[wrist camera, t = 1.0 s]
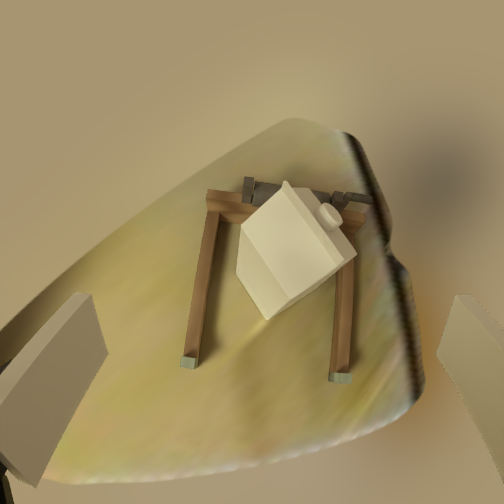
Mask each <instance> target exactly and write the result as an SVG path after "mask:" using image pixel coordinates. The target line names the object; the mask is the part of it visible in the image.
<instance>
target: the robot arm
mask: <svg viewBox="0 0 504 504" xmlns="http://www.w3.org/2000/svg"><path fill="white" fill-rule="evenodd" d="M107 355H108V351H107V348H106V344H105V341H104V338H103V335H102V331H101V328H100V325H99V321H98V318H97V314H96V310H95V307H94V303H93V299H92V295H91V294H88V293H74V294H73V295H72V296H71V297H70V298H69V299H68V300H67V301H66V302H65V303H64V304H63V305H62V306H61V307H60V308H59V309H58V310H57V311H56V312H55V313H54V314H53V315H52V316H51V318H50V319H49V320H48V321H47V322H46V323H45V324H44V325H43V326H42V327H41V328H40V329H39V331H38V332H37V333H36V334H35V335H34V336H33V337H32V338H31V339H30V341H29V342H28V343H27V344H26V345H25V346H24V347H23V349H22V350H21V351H20V352H19V353H18V354H17V356H16V357H15V358H14V359H13V360H10V361H9V362H7V363H6V364H4V365H3V366H1V367H0V504H14V502H13V497H12V494H11V489H10V484H9V481H8V478H7V476H5V472H6V470H7V469H8V470H9V471H10V472H11V473H12V474H13V475H14V476H15V477H16V478H17V479H18V480H20V481H22V482H24V483H26V484H28V485H30V486H32V487H34V488H36V487H37V485H38V483H39V481H40V479H41V477H42V475H43V473H44V471H45V469H46V467H47V464H48V462H49V460H50V458H51V456H52V455H53V453H54V451H55V449H56V447H57V445H58V443H59V441H60V439H61V437H62V435H63V433H64V431H65V429H66V428H67V426H68V424H69V422H70V420H71V418H72V416H73V415H74V413H75V411H76V409H77V407H78V406H79V404H80V402H81V400H82V398H83V397H84V395H85V393H86V391H87V390H88V388H89V386H90V384H91V383H92V381H93V379H94V377H95V376H96V374H97V372H98V371H99V369H100V367H101V365H102V364H103V362H104V360H105V359H106V357H107ZM436 356H437V357H438V359H439V360H440V362H441V364H442V366H443V367H444V369H445V371H446V372H447V374H448V376H449V377H450V379H451V381H452V383H453V384H454V386H455V388H456V389H457V391H458V393H459V395H460V397H461V398H462V400H463V402H464V403H465V406H466V407H467V409H468V411H469V413H470V415H471V417H472V418H473V420H474V422H475V424H476V426H477V428H478V430H479V432H480V434H481V436H482V438H483V440H484V442H485V444H486V446H487V448H488V450H489V452H490V454H491V456H492V458H493V461H494V462H495V465H496V467H497V469H498V471H499V474H500V476H501V478H502V480H503V483H504V329H503V328H502V327H501V326H500V325H499V324H498V322H497V321H496V320H495V319H494V318H493V317H492V316H491V315H490V314H489V313H488V312H487V311H486V310H485V309H484V308H483V307H482V306H481V305H480V304H479V303H478V302H477V301H476V300H475V299H474V298H473V296H472V295H471V294H465V295H455V298H454V301H453V304H452V308H451V311H450V314H449V317H448V320H447V323H446V326H445V329H444V332H443V335H442V338H441V341H440V344H439V346H438V349H437V352H436Z"/></svg>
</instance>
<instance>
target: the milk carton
mask: <svg viewBox="0 0 504 504" xmlns="http://www.w3.org/2000/svg"><path fill="white" fill-rule="evenodd" d="M342 223H343V221H342V218H341V216H340V214H339V213H338V211H337V210H336V209H335V208H334V207H333V206H332V205H330V204H329V203H323V204H321V203H320V202H319V200H318V199H317V198H316V196H315V195H314V194H313V193H312V191H311V190H310V189H309V188H298V187H291V186H290V185H289V184H288V182H287V181H283V184H282V187H281V189H280V190H279V191H278V192H276V193H275V194H274V195H273V196H272V197H271V198H270V199H269V200H268V201H267V202H265V203H264V204H263V205H262V206H261V207H260V208H259V209H258V210H257V211H256V212H254V213H253V214H252V215H251V216H250V217H249V218H248V219H247V220H246V221H245V222H244V223H242V224H241V231H240V240H239V249H238V258H237V267H236V274H237V276H238V278H239V279H240V281H241V282H242V284H243V286H244V287H245V289H246V290H247V292H248V293H249V295H250V296H251V298H252V299H253V301H254V303H255V304H256V306H257V307H258V309H259V310H260V312H261V313H262V315H263V316H264V318H265V319H266V320H267V321H268V320H269V319H271V318H273V317H274V316H276V315H277V314H279V313H280V312H282V311H283V310H285V309H286V308H288V307H289V306H291V305H292V304H294V303H295V302H297V301H298V300H300V299H301V298H303V297H304V296H306V295H307V294H309V293H310V292H312V291H313V290H315V289H316V288H317V287H318V286H320V285H321V284H322V283H323V282H324V281H326V280H327V279H328V278H329V277H331V276H332V275H333V274H334V273H335V272H337V271H338V270H339V269H340V268H342V267H343V266H344V265H345V264H346V263H348V262H349V261H350V260H351V259H352V258H353V257H355V256H356V255H357V252H356V251H355V249H354V248H353V247H352V245H351V244H350V242H349V241H348V239H347V238H346V237H345V235H344V234H343V233H342V231H341V230H340V228H339V226H340V225H341V224H342Z"/></svg>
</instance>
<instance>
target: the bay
mask: <svg viewBox="0 0 504 504" xmlns="http://www.w3.org/2000/svg"><path fill="white" fill-rule="evenodd" d="M253 183H254V178H252V177H245V178H244V185H243V193H242V194H241V193H234V192H226V191H218V190H210V189H208V192H207V196H206V202H207V210H208V212H207V217H206V222H205V228H204V233H203V238H202V244H201V249H200V255H199V260H198V266H197V272H196V277H195V283H194V289H193V295H192V302H191V308H190V314H189V321H188V327H187V334H186V341H185V348H184V355H183V356H181V363H180V367H184V368H189V369H196V368H197V366H198V358H199V351H200V344H201V337H202V330H203V323H204V316H205V309H206V303H207V296H208V290H209V283H210V277H211V271H212V264H213V258H214V252H215V246H216V240H217V235H218V229H219V223H220V221H222V222H230V223H237V224H242V223H244V222H245V221H246V220H247V219H248V218H249V217H250V216H251V215H252V214H253V213H254V212H256V211H257V210H258V209H259V208H260V207H261V206H262V205H263V204H264V203H265V202H267V201H268V200H269V199H270V198H271V197H272V196H273V195H274V194H275V193H276V192H278V191H279V190H280V189H281V187H282V185H276V184H269V183H263V182H256V181H255V187H254V193H253V195H252V190H253ZM311 191H312V193H313V194H314V195H315V196H316V198H317V199H318V200H319V202H320V203H321V204H323V203H329V204H330V205H332V206H333V207H334V208H335V209H336V210H337V211H338V213H339V214H340V216H341V218H342V221H343V223H342V224H341V225H340V226H339V228H340V230H341V231H342V233H343V234H344V235H345V237H346V238H347V239H348V241H349V242H350V244H351V245H352V247H353V248H354V241H355V232H356V231H357V230H358V229H359V228H360V227H361V226H362V225H363V224H364V223H365V214H364V213H358V212H353V211H348V210H343V209H344V208H345V206H346V205H347V204H348V202H349V201H355V202H361V203H366V204H372V201H373V197H372V196H367V195H363V194H358V193H353V192H346V193H345V195H344V196H343V192H337V191H335V192H334V193H333V195H332V196H331V198H330V194H329V193H324V192H318V191H313V190H311ZM353 289H354V257H353V258H352V259H351V260H350V261H349V262H348V263H346V264H345V265H344V266H343V267H342V268H340V269H339V270H338V271H337V276H336V295H335V311H334V325H333V338H332V349H331V360H330V369H329V379H328V381H329V382H334V383H339V384H351V381H352V374H351V373H348V364H349V353H350V341H351V327H352V310H353Z"/></svg>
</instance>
